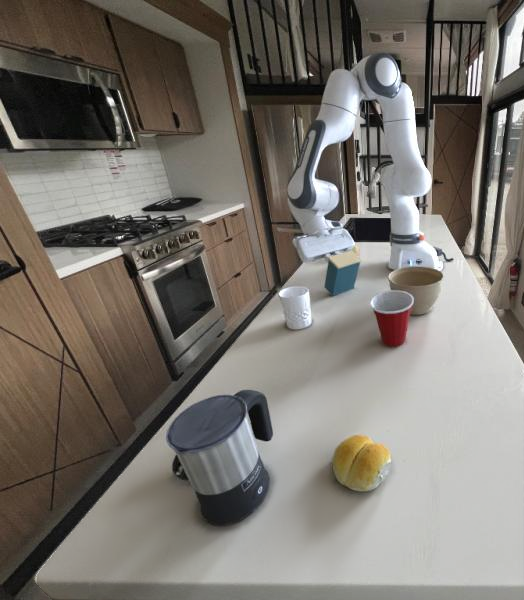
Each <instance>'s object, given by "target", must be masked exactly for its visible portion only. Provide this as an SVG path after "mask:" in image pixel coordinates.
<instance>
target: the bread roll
mask: <svg viewBox="0 0 524 600" xmlns="http://www.w3.org/2000/svg"><path fill="white" fill-rule="evenodd" d="M391 458H392V455H391V452H390V451H389V449H388V448H387V447H386V446H385V445H384V444H383V443H378V442H373V441H372V439H371V438H370V437H369V436H367V435H363V434H355V435H351V436H350V437H347V438H345V439H344V440H343V441H342V442H340V443H339V445H338V446H336V449H335V451H334V452H333V457H332V470H333V473H334V477H335V478H336V480H337V481H338V483H340V484H341V485H343V486H345V487H347V488H348V489H350V490H352V491H355V492H370V491H372V490H374V489H376V488H378V487H379V485H380V484H381V483H382V482H383V481H384V480H385V478H386V477H387V475H388V474H389V472H390V470H391V468H392V459H391Z"/></svg>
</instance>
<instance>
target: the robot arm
mask: <svg viewBox="0 0 524 600" xmlns="http://www.w3.org/2000/svg"><path fill="white" fill-rule="evenodd" d="M375 100H376V101H377V102H378V104H379V106H380V108H381V109H380V110H381V112H382V114H381V115H382V125H383V134H384V135H383V136H384V144H385V148H386V150H387V151H388V153H389V155H390V157H391V159H392V163H391V164H388V165H386V166H385V167H383V168H382V170H381V172H380V175H379V182H380V185H381V186H382V188H383V190H384V192H385V196H386V200H387V204H388V208H389V214H390V232H389V244H390V256H389V259H388V260H389V261H388V265H387V267H388V268H389V269H391V270H392V271H394V270H397V269H400V268H404V267H411V266H423V267H430V268H434V269H437V270H439V271H442V270H443V268H444V262H443V261H442V260H441V259H440V258H438V257H441V256H443V259H444V260H445V261H446V262H452V261H454V257H451V258H447V254H446V253H445V252H444V251H443V248H440V247H437V246H432V245H430V244H429V243H428V242H426V241H425V233H424V232H423V231H420V212H419V211H420V210H419V209H418V207H417V206H416V203H415V200H414V198H418V197H419V198H420V197H423V196H425V195H427V194H428V192H429V191H430V190H431V187H432V176H431V173H430V171H429V170H428V169H427V168H426V166H425V164H424V161H423V159H422V155H421V153H420V149H419V146H418V145H419V144H418V139H417V127H416V114H415V113H416V112H415V106H414V100H413V96H412V90H411V88H410V86H409V85H408V84H407V83H405V82H403V78H402V75H401V73H400V68H399V66H398V64H397V62H396V60H395V58H394V57H393V56H392V54H391V55H390V54H389V53H388V52H384V51H378V52H374V53H372V54H369V55H367V56H365V57H363V58H362V59H361V60H360V61H359V62H358V63H355V64H353V65H352V67H351V68H350V69H349V70H347V69H345V68H336V69H334V70H333V71H331V72H330V74H329V76H328V79H327V82H326V84H325V87H324V91H323V95H322V99H321V103H320V109H319V111H318V114H317V116H316V118H315V120H313V121H311V123H310V124H309V126H308V127H307V130H306V133H305V135H304V138H303V141H302V144H301V148H300V151H299V153H298V157H297V160H296V163H295V166H294V169H293V172H292V174H291V176H290V178H289V180H288V182H287V184H286V195H287V205H288V207H289V210H290V212H291V214H292V216H293V218H294V220H295V221H296V223H298V224H299V226H300V230H301V231H302V233H303V234H301V235H297V236H294V237H293V238H292V241H291V242H292V244H293V246H294V248H295V249H296V252H297V254H298V257H299V259H300V260H301V262H303V263H305V264H306V263H311V262H314V261H317V260H321V259H324V261H326V262H327V263H328V261H329V259H328V257H330V256H333V255H337V254H341V253H343V252H346V251H350V250H352V248H353V247H354V244H356V243H355V241H354V239H353V237H352V235H351V234H350V233H349V231H348V230H347V229H346V228H344V225H343V223H342V222H341V221H337V220H329V219H326V218H325V216H326V215H328V214H329V213H331V212H332V211H334V210H335V209H336V208H337V207H338V205H339V203H340V192H339V189H338V187H337V185H335V184H334V183H333V182H329V181H327V180H322V179H318V178H316V177H315V176H316V172H317V169H318V166H319V162H320V159H321V156H322V154H323V151H324V149H326V147H329V146H330V145H332V144H339V143H343V142H345V141H346V140H348V139H349V138H350V137H351V136H352V134H353V132H354V130H355V126H356V122H357V121H356V120H357V116H358V111H359V107H360V105H361V104H360V103H361V102H368V101H375Z"/></svg>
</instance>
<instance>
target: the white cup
mask: <svg viewBox="0 0 524 600" xmlns="http://www.w3.org/2000/svg"><path fill="white" fill-rule="evenodd" d="M278 299H279V301H280V307H281V311H282V313H283V316H284V319H285V323H286V327H287V328H288V329H290V330H302V329H306V328H307V327H309V326H310V325H312V309H311V299H310V289H309V288H308V287H306V286H300V285H294V286H289V287H285V288H283V289H282V290H280V291H279V292H278Z"/></svg>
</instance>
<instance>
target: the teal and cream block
mask: <svg viewBox="0 0 524 600" xmlns="http://www.w3.org/2000/svg"><path fill="white" fill-rule="evenodd" d="M328 259H329V261H328V262H327V266H326V267H327V268H326V274H325V280H324V286H323V288H324V289H325V290H326V291H327V292H328V293H329V294H330V296H332V297H333V296H337V295H339V294H342V293H345V292H347V291H350V290H353V289H354V288H355V285H356V280H357V276H358V273H359V268H360V265H361V263H362V261H363V260H362V258H360V257H359V256H357V255H356V254H355V253H354V252H353V251H352V250H351V251H348V252H344V253H340V254H337V255H332V256H330V257H328Z"/></svg>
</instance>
